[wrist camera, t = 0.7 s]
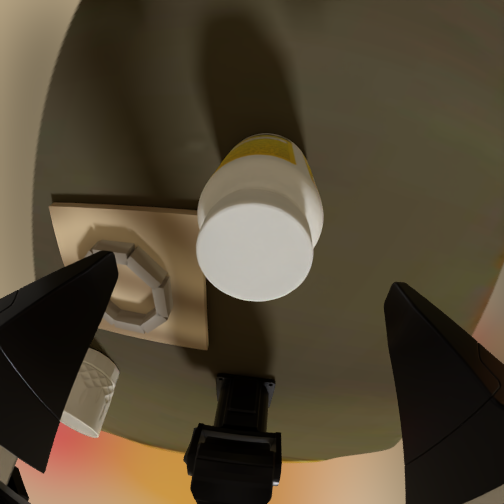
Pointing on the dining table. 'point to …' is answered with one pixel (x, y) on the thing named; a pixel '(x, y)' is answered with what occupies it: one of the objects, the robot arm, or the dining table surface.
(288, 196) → the supplement bottle
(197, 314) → the board
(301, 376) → the dining table surface
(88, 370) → the white cup
